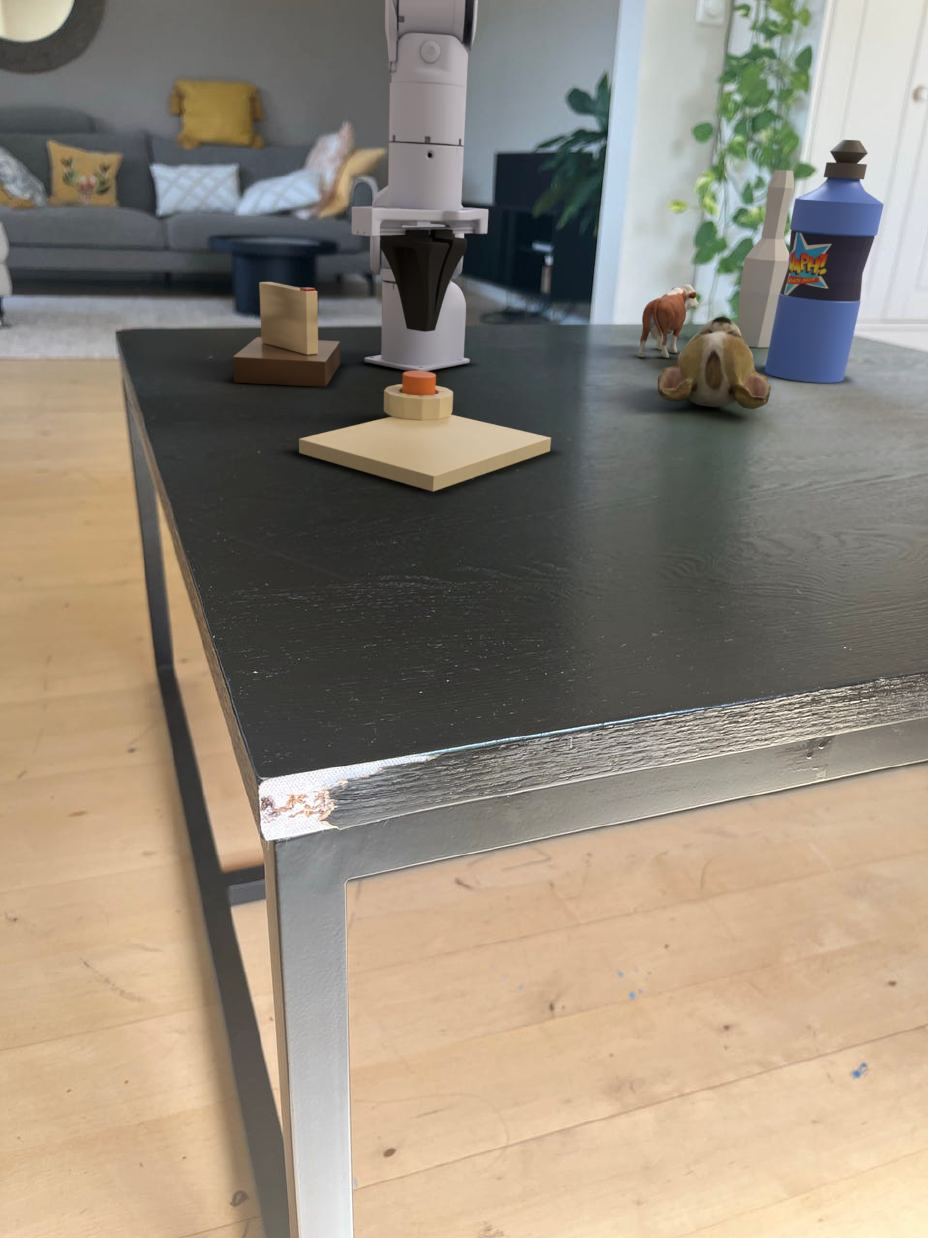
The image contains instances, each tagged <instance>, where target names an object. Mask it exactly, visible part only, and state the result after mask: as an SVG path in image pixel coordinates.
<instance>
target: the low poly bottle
mask: <svg viewBox="0 0 928 1238" xmlns="http://www.w3.org/2000/svg"><path fill="white" fill-rule="evenodd" d="M794 191H795V179H794V170H783V169H775V170H774V172H773V174H772V177H771V179H770V182H769V184H768V186H767V194H766V204H765V206H766V207H765V213H764V221H763V226H762V231H761V236H760V237H761V238H760V239H758V241H757V242H756V243H755V244H754V246H753V247H752V248H751V249H750V251H749V252H748V253H747V254H746V255H745V256H744V262H743V266H742V272H741V280H740V285H739V293H738V311H737V327H738V328H739V330H740V333H741V336H742V338H743V339H744V340H745V342H746V343H747V345H748V347H749V348H750V347H751V348H769V345H770V340H771V334H772V329H773V324H774V318H775V313H776V308H777V303H778V298H779V293H780V291H781V288H782V285H783V282H784V279H785V276H786V273H787V269H788V262H789V248H788V247H787V245H786V242H785V241H784V235H785V230H786V224H787V219H788V214H789V209H790V206H791V202H792V199H793V194H794Z"/></svg>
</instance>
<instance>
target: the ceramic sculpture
mask: <svg viewBox="0 0 928 1238" xmlns="http://www.w3.org/2000/svg"><path fill="white" fill-rule="evenodd" d="M771 390H772V385H771V384H770V383H769V379H768V377H767V376H766V375H764V374H761V373H759V372H757V370H756V368H755V361H754V355H753V353H752V350H751V349H750V347H748V345H747V343H746V342H745V340H744V339H743V338H742V336H741V333H740V330H739V328H738V325H737V324H736V323H735V322H733V321H732V320H731V319H730V318H728V317H725V316H718V317H715V318H714V319H712V320H710V321H708V322H707V323H705V324H704V325H703V326H702V327H701V329H700V330H699V331H698V332H697V333H696V334H695V335H693V336H692V337H691V338H690V339H689V341H688V342H687V344H686V345H684V347H683V348H682V350H681V351H680V352H679V354H678V358H677V362H676V363H675V365H673V366H667V367H664V368H663V369H662V370H661V373H660V374H659V375H658V377H657V393H658V395H659V396H660V397H661V398H662V399H664V400H665V401H668V402H670V403H671V402H672V403H678V402H681V401H683V400H685V399H686V398H687V399H688V400H689V401H690V402H692V403H693V404H695V405H698V406H702V407H710V408H723V407H727V406H730V405H731V404H734V403H737V404H739V406H740V407H742V408H743V409H747V410H756V409H758V408H762V407H764V406H765V405H766V404H768V402H769V399H770V395H771Z"/></svg>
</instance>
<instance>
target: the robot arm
mask: <svg viewBox="0 0 928 1238" xmlns="http://www.w3.org/2000/svg"><path fill="white" fill-rule="evenodd" d="M478 5H479V0H385V2H384V29H385V30H384V31H385V37H386V43H387V45H386V46H387V54H388V55H387V56H388V74H389V76H391V77H390V78H391V81H390V82H389V105H388V106H389V107H388V109H389V113H388V117H389V118H388V168H387V169H388V172H387V173H388V174H387V175H388V178H387V185H386V186H385V187H384V188H383V189H381V190H380V191H378V192H377V193H376V194H375V196H374V200H372V202H371V206H370V205H369V206H351V235H352V236H362V237H364V236H365V237H369V250H370V251H369V262H370V263H369V266H370V271H372V272H373V273H374V275H377V276H380V281H381V342H380V345H381V347H380V348H381V349H380V354H379V355H373V356H367V357H364V361H363V362H364V363H367V364H372V365H376V366H377V365H378V366H382V367H387V368H392V369H397V370H403V371H405V372H407V371H426V372H430V371H431V372H432V371H435V370H440V369H447V368H450V367H456V366H461V365H465V364H470V361H471V360H470V358H467V357H465V340H466V339H465V338H466V319H467V303H466V299H465V295H464V292H463V291H462V289H461V288H460V286H458V285H457V284H456V283H454V282H453V281H452V279H458V276H460V275H461V274H462V272H463V263H464V255H465V253H466V252H467V249H468V248H467V244H468V238H467V237H466V238H465V234H475V235H487V234H488V227H489V224H488V223H489V208H479V207H478V208H477V207H464V206H463V205H462V197H463V192H462V191H463V177H464V176H463V175H464V153H465V152H464V151H465V147H464V146H465V132H466V110H467V91H468V89H467V87H468V86H467V85H468V66H469V54H468V52H471V51H472V48H473V45H474V41H475V37H476V31H477V21H478V8H479V7H478ZM466 49H468V52H467V50H466Z"/></svg>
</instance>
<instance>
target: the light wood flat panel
mask: <svg viewBox="0 0 928 1238" xmlns="http://www.w3.org/2000/svg"><path fill="white" fill-rule="evenodd" d="M258 284H259V285H258V288H259V309H260V311H259V313H260V334H261V335H260V337H261V339H262V343H266V344H269V345H273V346H277V347H280V348H284V349H288V350H291V351H295V352H299V353H302V354H306V355H310V354H318V340H319V318H318V316H319V313H318V312H319V309H318V306H319V305H318V291H317V290H316V288H315V287H309V286H307V287H299V286H292V285H288V284H284V283H278V282H273V281H260V282H259V283H258Z"/></svg>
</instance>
